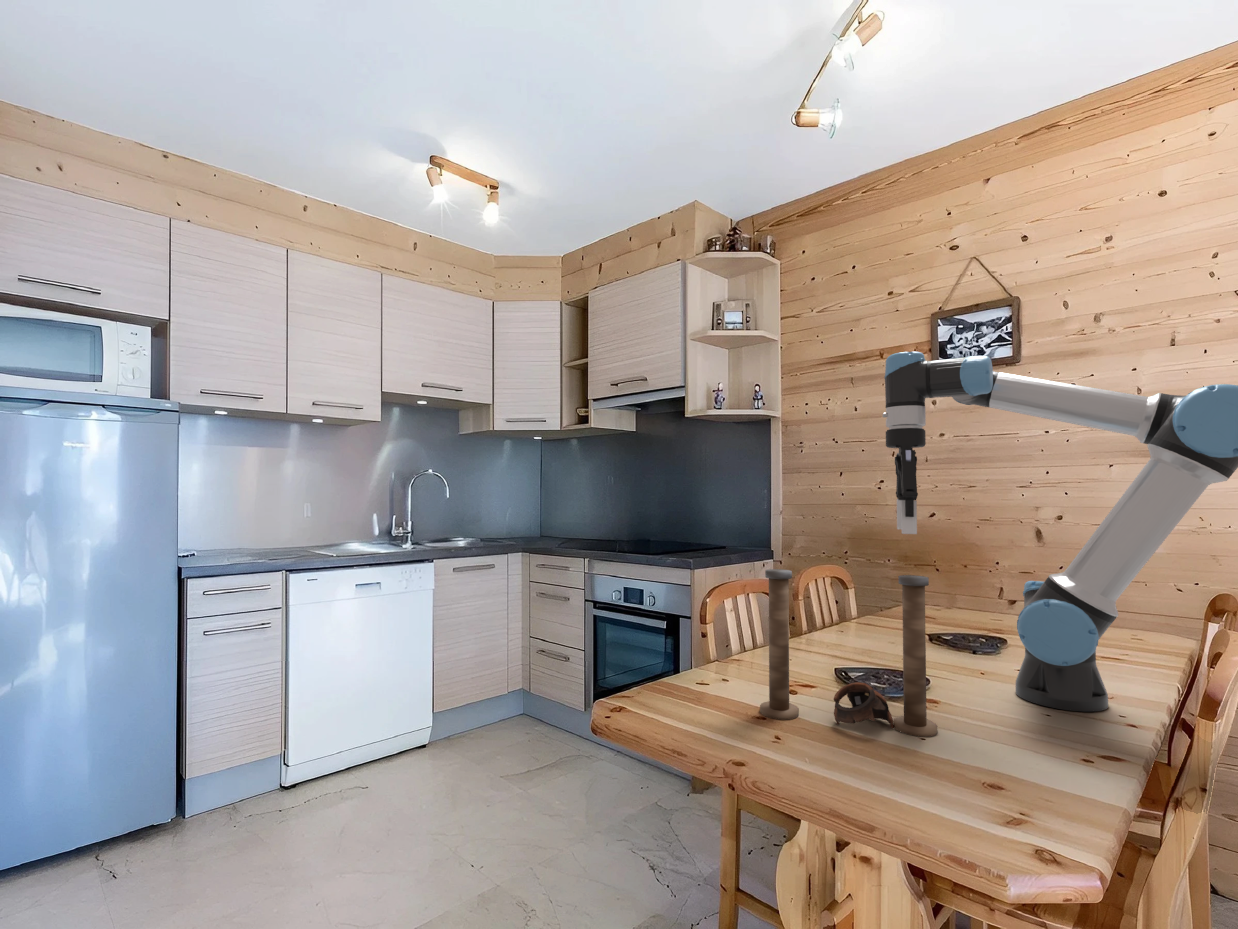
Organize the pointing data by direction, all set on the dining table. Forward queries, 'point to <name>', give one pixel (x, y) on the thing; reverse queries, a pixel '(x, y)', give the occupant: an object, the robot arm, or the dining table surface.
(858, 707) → the broken pottery shard
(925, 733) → the post
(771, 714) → the post
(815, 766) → the dining table surface
